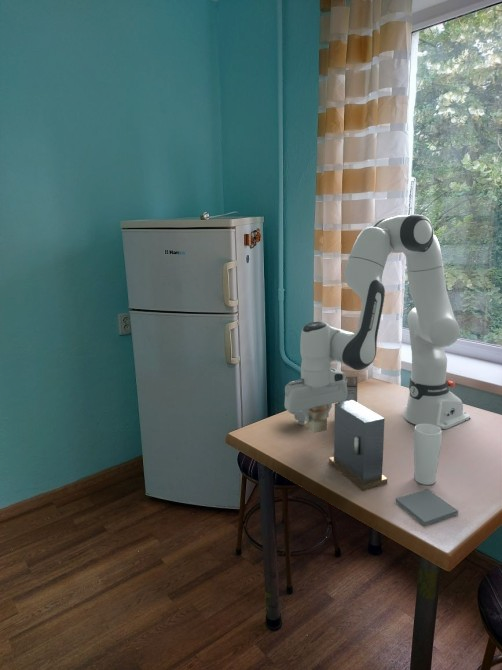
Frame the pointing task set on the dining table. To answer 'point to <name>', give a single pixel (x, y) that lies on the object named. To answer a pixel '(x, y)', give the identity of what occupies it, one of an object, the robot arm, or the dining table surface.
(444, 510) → the mat
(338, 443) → the cabinet
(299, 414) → the showerhead
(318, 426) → the block
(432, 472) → the drinking glass
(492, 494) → the dining table surface
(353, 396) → the coffee box
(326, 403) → the robot arm
